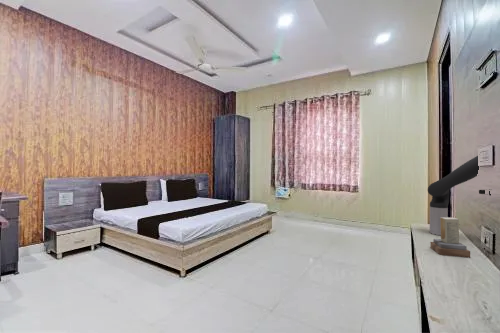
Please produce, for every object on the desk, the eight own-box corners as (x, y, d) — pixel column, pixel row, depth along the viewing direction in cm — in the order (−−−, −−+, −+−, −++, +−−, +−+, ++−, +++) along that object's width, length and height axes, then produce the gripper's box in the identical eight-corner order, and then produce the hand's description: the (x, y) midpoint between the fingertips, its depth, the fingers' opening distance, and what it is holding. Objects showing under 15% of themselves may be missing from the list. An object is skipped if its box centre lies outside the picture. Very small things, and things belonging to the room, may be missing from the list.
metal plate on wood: (430, 247, 131) (430, 238, 131) (457, 249, 128) (457, 240, 128) (440, 254, 120) (440, 244, 120) (470, 257, 116) (470, 247, 116)
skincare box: (453, 241, 125) (454, 217, 126) (459, 243, 121) (459, 219, 121) (439, 240, 127) (439, 216, 127) (444, 243, 122) (445, 218, 122)
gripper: (514, 185, 128) (476, 184, 133) (536, 187, 115) (493, 186, 119) (514, 199, 128) (476, 198, 133) (536, 203, 115) (493, 201, 119)
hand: (484, 192), depth 126 cm, fingers open, 8 cm apart
